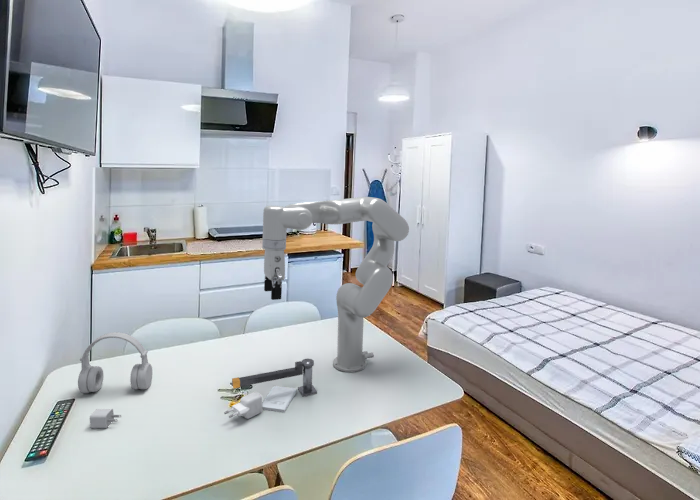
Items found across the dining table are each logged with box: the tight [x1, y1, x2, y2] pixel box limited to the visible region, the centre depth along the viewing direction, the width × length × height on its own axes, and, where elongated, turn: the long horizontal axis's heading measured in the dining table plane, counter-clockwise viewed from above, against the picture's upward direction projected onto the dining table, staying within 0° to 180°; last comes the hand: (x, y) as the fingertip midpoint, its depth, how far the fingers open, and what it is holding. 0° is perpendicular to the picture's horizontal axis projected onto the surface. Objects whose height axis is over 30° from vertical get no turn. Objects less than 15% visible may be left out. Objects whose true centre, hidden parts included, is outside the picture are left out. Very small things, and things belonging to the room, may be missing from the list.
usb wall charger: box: [89, 408, 122, 429], centre depth 114 cm, size 4×7×4 cm, turn 93°
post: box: [297, 366, 318, 398], centre depth 134 cm, size 5×5×9 cm
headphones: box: [77, 331, 153, 394], centre depth 131 cm, size 20×8×19 cm, turn 100°
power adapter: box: [223, 391, 263, 420], centre depth 119 cm, size 11×5×6 cm, turn 137°
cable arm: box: [231, 358, 315, 389], centre depth 128 cm, size 26×4×4 cm, turn 115°
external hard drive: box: [262, 385, 298, 414], centre depth 129 cm, size 2×8×12 cm
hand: (272, 295), depth 134 cm, fingers open, 9 cm apart
